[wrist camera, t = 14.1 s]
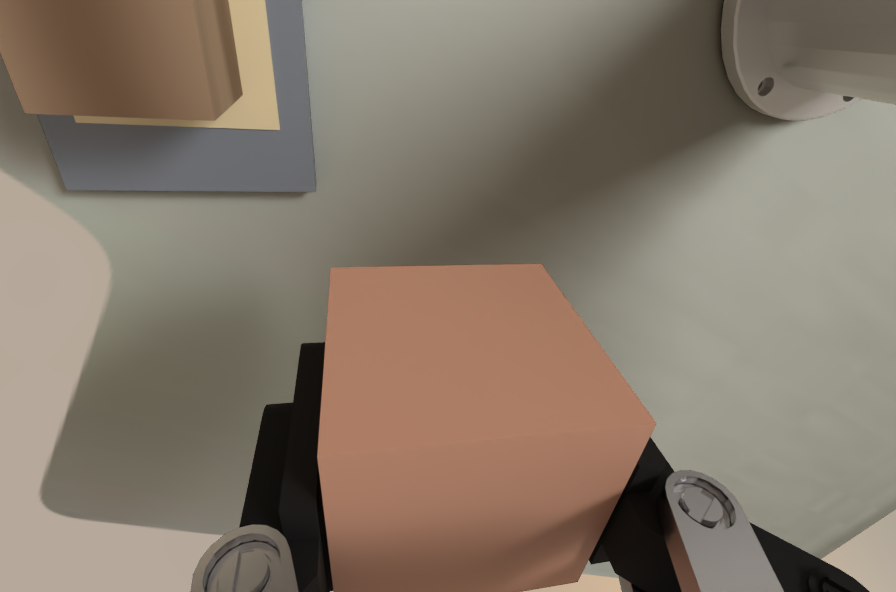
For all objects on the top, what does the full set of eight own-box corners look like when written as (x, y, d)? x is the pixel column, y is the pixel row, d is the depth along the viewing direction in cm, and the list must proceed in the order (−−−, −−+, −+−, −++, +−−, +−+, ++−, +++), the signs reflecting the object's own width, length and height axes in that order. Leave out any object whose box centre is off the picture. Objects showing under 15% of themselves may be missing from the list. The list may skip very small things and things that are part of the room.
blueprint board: (285, -201, 15) (282, -215, 14) (316, 185, 21) (315, 192, 21) (-91, -273, 12) (-125, -295, 11) (77, 182, 19) (65, 190, 18)
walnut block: (218, -63, 15) (175, -89, 11) (242, 95, 18) (214, 121, 14) (48, -84, 14) (-70, -122, 10) (101, 87, 17) (24, 113, 13)
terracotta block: (541, 263, 11) (656, 423, 7) (508, 406, 14) (577, 581, 9) (330, 267, 10) (317, 456, 6) (341, 420, 13) (337, 623, 8)
